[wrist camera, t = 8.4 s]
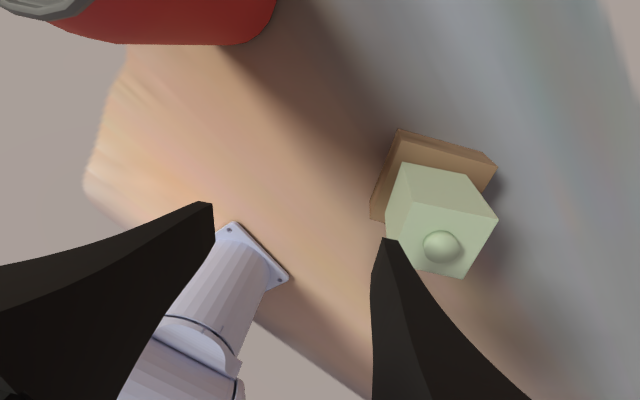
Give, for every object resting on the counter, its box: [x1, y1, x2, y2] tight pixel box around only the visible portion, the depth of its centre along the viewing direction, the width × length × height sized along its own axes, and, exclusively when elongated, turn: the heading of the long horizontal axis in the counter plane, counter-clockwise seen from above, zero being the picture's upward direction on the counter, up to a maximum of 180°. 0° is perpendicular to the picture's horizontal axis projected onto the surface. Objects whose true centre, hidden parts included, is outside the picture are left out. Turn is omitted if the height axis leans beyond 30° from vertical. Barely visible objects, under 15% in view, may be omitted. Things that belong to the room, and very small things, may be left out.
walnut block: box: [370, 129, 498, 223], centre depth 19 cm, size 6×6×3 cm
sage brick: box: [385, 162, 499, 280], centre depth 16 cm, size 4×4×6 cm
